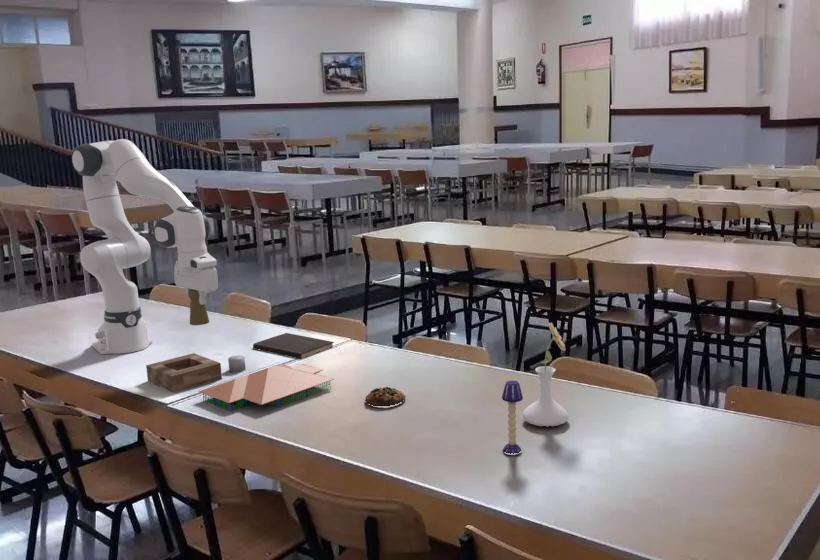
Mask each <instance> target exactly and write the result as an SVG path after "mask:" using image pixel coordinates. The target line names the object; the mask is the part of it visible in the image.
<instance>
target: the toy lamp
mask: <svg viewBox="0 0 820 560" xmlns="http://www.w3.org/2000/svg"><path fill="white" fill-rule="evenodd" d="M501 399H502V401H504V402H507V404H508V406H507V411H508V415H507V416H508V417H507V418H508V419H507V422H508V423H507V424H508V427H507V429H508V443H507V444H505V445H504V446H503V450H502V452H503V451H504V452H506V453H510V454H511V453H513V454H514V453H519V452H520V451H522V448H521V446H520V445H519V444H517V432H516V430H517V426H516V425H517V420H516V418H517V413H516V411H517V408H516V406H517V403H519V402H521V401H523V392H522V390H521V385H520V382H519V381H517V380H507V381H506V382H505V384H504V387H503V392H502V395H501Z"/></svg>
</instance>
